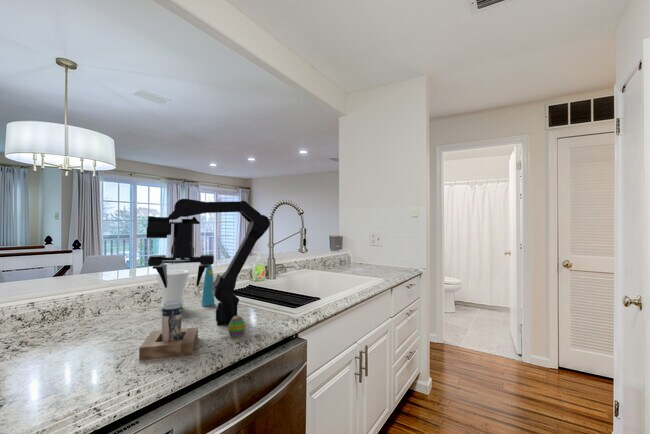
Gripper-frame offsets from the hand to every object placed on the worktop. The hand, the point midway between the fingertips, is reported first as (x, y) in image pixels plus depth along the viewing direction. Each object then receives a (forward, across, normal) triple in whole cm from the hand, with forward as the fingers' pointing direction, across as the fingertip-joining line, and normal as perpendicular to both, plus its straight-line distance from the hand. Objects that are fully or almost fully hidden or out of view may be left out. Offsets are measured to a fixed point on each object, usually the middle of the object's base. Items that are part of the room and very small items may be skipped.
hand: (182, 287), depth 98 cm
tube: (+13, -6, -27) cm, 31 cm away
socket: (+13, 0, +16) cm, 21 cm away
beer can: (+13, 0, +16) cm, 21 cm away
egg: (+13, -17, +11) cm, 24 cm away
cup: (+13, +7, -24) cm, 28 cm away
